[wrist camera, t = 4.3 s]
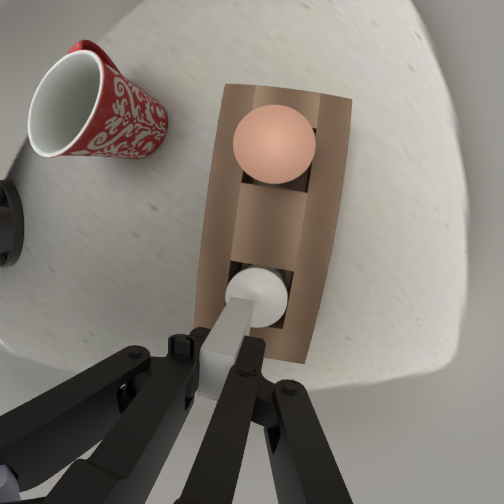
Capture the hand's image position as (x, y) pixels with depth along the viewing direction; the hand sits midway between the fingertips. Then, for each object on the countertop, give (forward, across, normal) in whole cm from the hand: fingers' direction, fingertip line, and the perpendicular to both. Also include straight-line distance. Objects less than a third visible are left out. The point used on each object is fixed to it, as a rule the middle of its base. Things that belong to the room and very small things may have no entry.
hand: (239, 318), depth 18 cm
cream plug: (+11, +1, 0) cm, 11 cm away
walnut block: (+12, +1, +5) cm, 13 cm away
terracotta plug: (+7, +1, +11) cm, 13 cm away
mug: (+13, -16, +15) cm, 26 cm away
